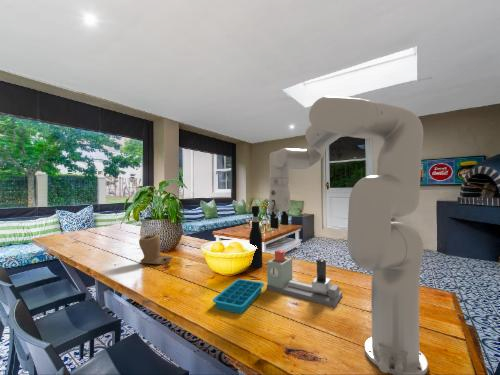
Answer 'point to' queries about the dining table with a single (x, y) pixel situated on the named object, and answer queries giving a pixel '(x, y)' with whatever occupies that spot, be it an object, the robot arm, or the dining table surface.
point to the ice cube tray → (238, 295)
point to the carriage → (321, 279)
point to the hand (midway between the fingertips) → (279, 226)
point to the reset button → (280, 256)
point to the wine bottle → (256, 239)
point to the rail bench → (307, 294)
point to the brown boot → (152, 250)
